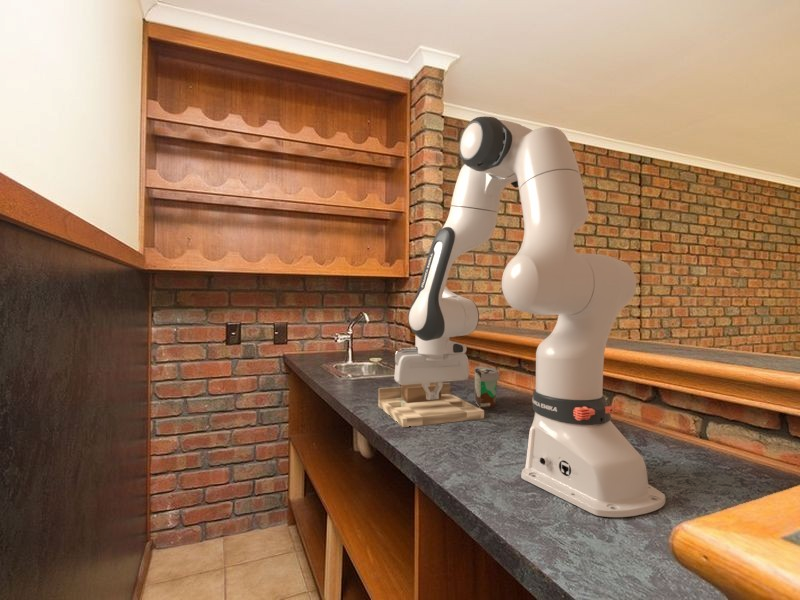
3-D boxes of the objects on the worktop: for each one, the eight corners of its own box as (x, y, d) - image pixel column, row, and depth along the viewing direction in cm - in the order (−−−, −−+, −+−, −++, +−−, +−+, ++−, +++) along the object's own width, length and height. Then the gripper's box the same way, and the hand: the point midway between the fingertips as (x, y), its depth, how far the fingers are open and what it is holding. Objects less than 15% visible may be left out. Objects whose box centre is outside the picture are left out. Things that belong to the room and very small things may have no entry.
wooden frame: (484, 418, 107) (484, 398, 107) (403, 427, 100) (403, 406, 99) (448, 399, 126) (448, 382, 126) (378, 405, 118) (378, 388, 118)
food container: (503, 411, 114) (504, 374, 114) (481, 410, 114) (481, 374, 114) (494, 399, 126) (494, 366, 126) (474, 399, 126) (474, 366, 126)
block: (440, 400, 117) (441, 385, 117) (407, 403, 114) (407, 388, 114) (433, 395, 122) (433, 382, 122) (401, 398, 119) (401, 384, 119)
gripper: (399, 349, 104) (399, 405, 104) (472, 346, 111) (472, 398, 111) (390, 346, 110) (390, 399, 110) (460, 343, 117) (460, 393, 117)
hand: (432, 399), depth 110 cm, fingers closed
